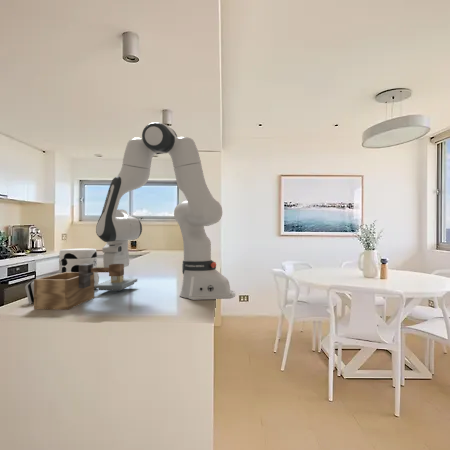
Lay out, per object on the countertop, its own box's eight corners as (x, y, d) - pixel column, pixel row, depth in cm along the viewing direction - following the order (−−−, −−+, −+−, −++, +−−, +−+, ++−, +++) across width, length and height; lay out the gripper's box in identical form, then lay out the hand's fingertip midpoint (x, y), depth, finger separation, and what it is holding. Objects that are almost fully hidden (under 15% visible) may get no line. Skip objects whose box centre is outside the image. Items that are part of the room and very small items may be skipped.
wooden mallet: (123, 274, 130) (123, 263, 130) (119, 276, 126) (119, 265, 126) (95, 274, 131) (94, 263, 131) (90, 276, 127) (90, 264, 127)
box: (101, 297, 139) (101, 261, 139) (76, 309, 119) (76, 267, 119) (64, 297, 140) (64, 261, 140) (33, 309, 120) (33, 267, 120)
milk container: (106, 287, 163) (106, 248, 163) (82, 294, 147) (82, 251, 147) (75, 285, 168) (75, 248, 168) (47, 292, 151) (47, 250, 151)
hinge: (41, 304, 128) (32, 278, 128) (30, 308, 128) (21, 282, 129) (66, 295, 145) (58, 272, 145) (55, 299, 145) (48, 276, 145)
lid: (137, 283, 162) (137, 269, 162) (122, 290, 143) (121, 275, 143) (113, 283, 163) (113, 269, 163) (94, 290, 144) (94, 275, 144)
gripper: (119, 246, 164) (119, 275, 163) (100, 248, 143) (100, 282, 143) (132, 245, 163) (132, 275, 163) (115, 248, 143) (115, 282, 143)
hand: (117, 279), depth 153 cm, fingers closed on lid, 4 cm apart
